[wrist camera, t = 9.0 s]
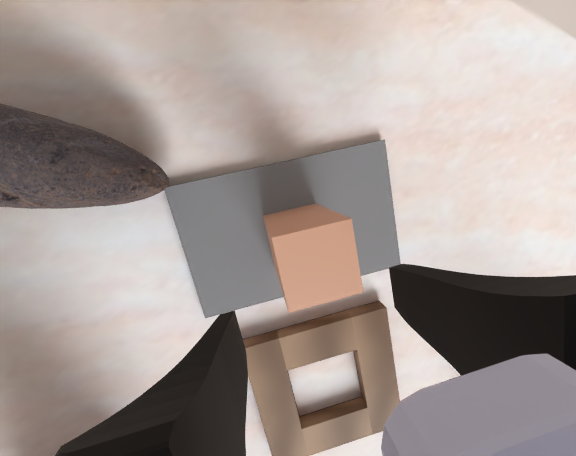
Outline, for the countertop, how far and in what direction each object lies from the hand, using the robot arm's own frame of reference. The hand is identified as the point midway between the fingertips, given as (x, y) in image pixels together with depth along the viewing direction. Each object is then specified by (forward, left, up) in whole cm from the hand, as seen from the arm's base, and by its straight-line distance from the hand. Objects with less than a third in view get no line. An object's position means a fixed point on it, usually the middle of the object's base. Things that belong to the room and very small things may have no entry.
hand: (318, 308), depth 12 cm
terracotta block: (+1, +1, -9) cm, 9 cm away
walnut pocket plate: (+1, -12, -9) cm, 15 cm away
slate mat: (+1, +2, -9) cm, 9 cm away
